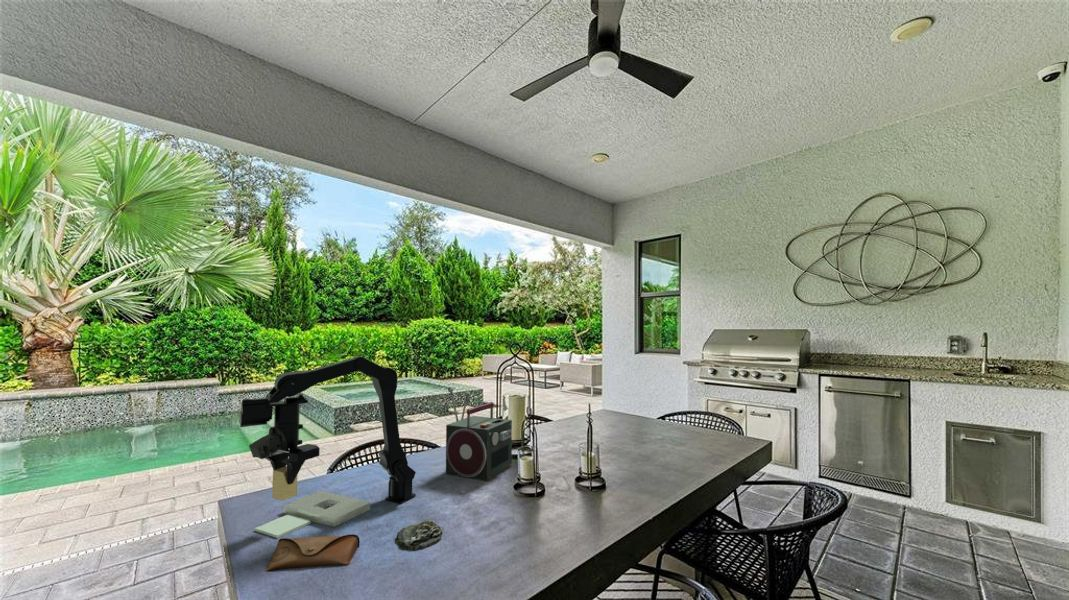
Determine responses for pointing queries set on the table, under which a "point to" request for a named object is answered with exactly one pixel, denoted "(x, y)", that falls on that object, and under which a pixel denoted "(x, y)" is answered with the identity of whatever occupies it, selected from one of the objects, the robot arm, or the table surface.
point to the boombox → (478, 444)
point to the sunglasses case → (314, 552)
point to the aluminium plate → (332, 516)
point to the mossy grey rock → (419, 536)
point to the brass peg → (283, 485)
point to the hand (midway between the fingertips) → (285, 482)
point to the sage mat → (282, 526)
